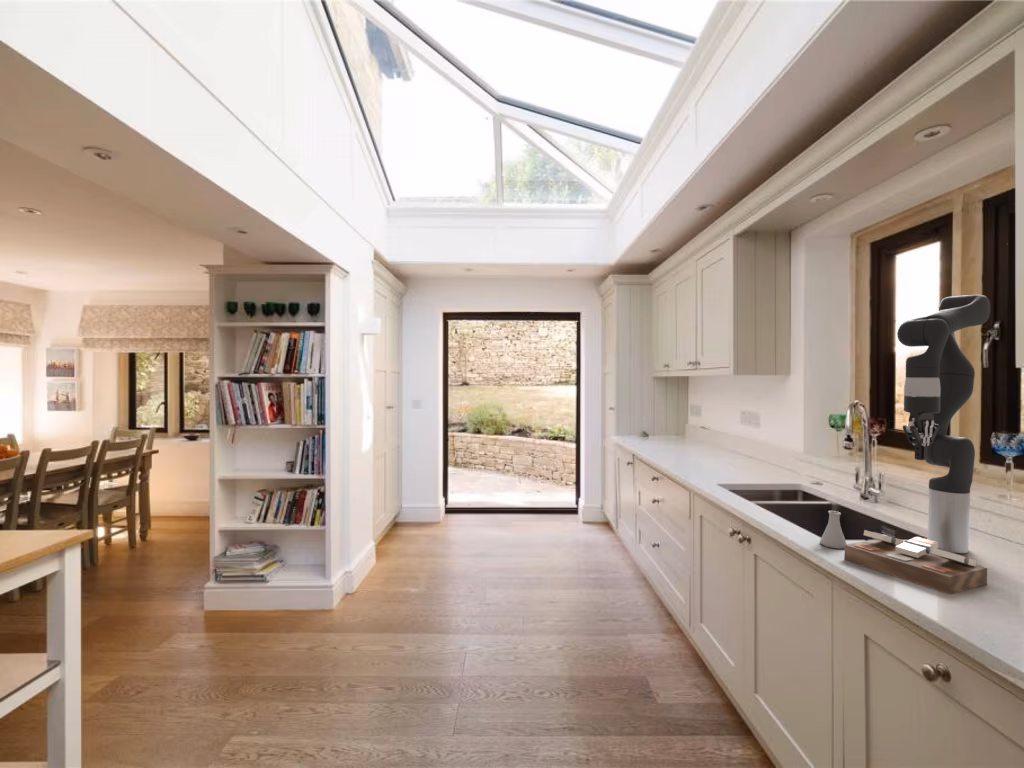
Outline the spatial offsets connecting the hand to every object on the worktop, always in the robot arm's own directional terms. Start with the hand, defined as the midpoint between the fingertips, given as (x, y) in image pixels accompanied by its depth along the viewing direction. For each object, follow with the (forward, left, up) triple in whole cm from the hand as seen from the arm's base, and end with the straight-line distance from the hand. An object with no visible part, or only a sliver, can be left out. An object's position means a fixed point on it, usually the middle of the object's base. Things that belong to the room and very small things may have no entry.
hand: (920, 459), depth 135 cm
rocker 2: (+5, +2, -22) cm, 23 cm away
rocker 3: (+5, +10, -22) cm, 25 cm away
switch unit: (+7, +2, -28) cm, 29 cm away
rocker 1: (+5, -6, -22) cm, 23 cm away
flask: (+6, -19, -28) cm, 35 cm away
